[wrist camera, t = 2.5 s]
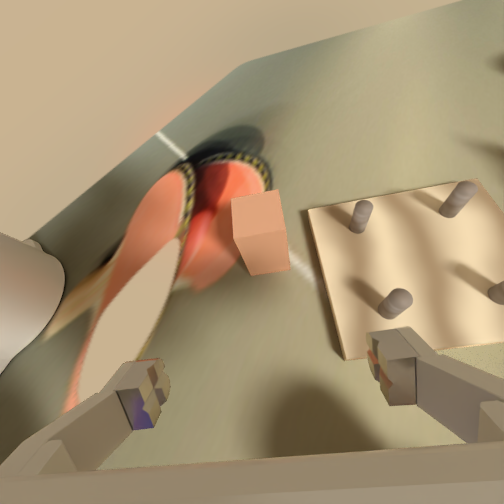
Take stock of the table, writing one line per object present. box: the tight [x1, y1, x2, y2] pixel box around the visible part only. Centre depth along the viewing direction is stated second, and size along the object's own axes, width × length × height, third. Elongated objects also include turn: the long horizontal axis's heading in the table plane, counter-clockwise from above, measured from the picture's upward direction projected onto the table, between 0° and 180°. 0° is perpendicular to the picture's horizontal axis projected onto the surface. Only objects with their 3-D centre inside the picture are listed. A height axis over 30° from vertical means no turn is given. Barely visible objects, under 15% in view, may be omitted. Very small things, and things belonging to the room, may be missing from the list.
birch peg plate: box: [308, 178, 504, 361], centre depth 23 cm, size 18×16×5 cm
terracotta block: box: [231, 189, 290, 276], centre depth 25 cm, size 4×4×8 cm
